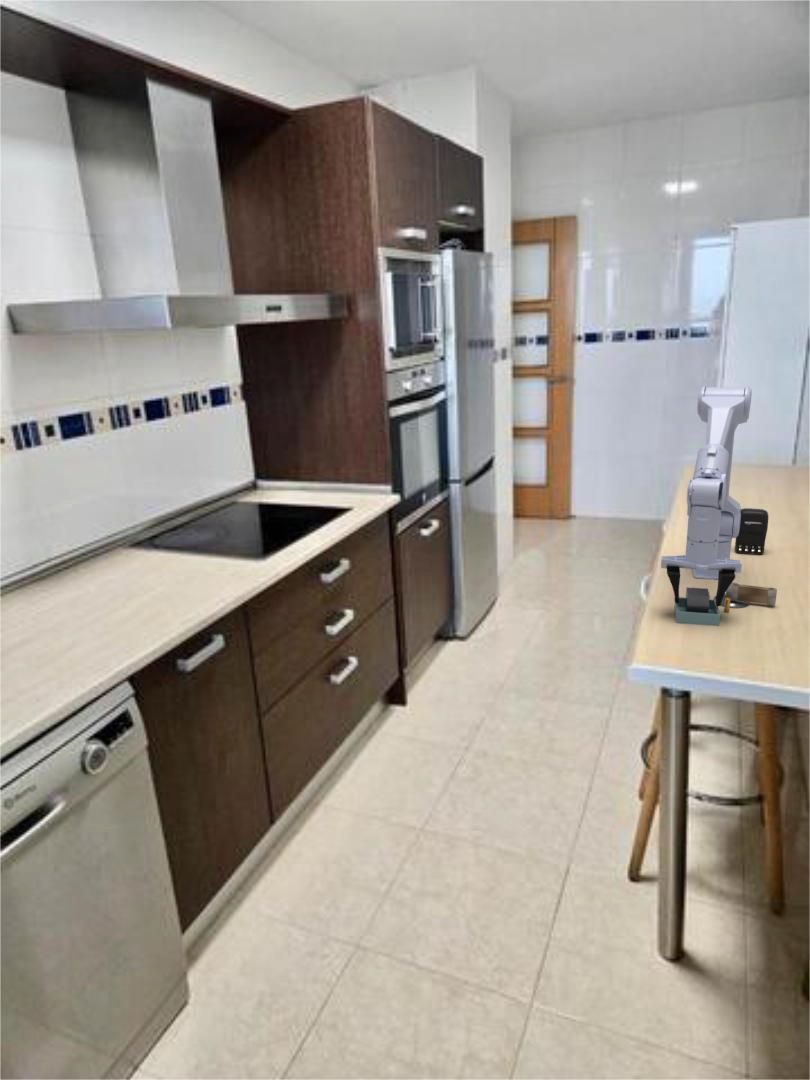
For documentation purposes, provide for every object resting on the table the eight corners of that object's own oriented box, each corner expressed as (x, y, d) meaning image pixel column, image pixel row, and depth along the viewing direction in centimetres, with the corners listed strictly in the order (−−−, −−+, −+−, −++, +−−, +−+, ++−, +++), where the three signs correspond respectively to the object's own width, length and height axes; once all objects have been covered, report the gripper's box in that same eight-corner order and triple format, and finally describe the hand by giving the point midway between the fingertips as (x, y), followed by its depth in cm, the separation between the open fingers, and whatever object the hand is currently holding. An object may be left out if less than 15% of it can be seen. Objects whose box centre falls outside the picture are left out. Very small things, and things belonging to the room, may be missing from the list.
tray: (674, 607, 145) (675, 596, 144) (715, 610, 143) (716, 599, 142) (676, 622, 138) (676, 611, 137) (718, 626, 136) (720, 615, 135)
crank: (725, 600, 146) (726, 585, 145) (726, 595, 148) (727, 581, 147) (775, 606, 141) (777, 591, 140) (775, 602, 143) (777, 587, 142)
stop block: (684, 610, 143) (686, 587, 141) (705, 611, 142) (707, 588, 140) (685, 617, 139) (687, 594, 138) (707, 619, 138) (709, 596, 136)
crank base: (711, 594, 150) (713, 581, 150) (747, 597, 148) (748, 584, 147) (716, 612, 142) (717, 598, 141) (754, 615, 140) (755, 601, 139)
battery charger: (733, 554, 173) (738, 510, 170) (733, 550, 177) (737, 506, 173) (765, 557, 171) (770, 512, 167) (764, 552, 174) (769, 508, 170)
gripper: (663, 542, 134) (659, 607, 138) (746, 546, 130) (739, 613, 134) (662, 532, 140) (658, 594, 144) (741, 535, 136) (734, 599, 140)
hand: (697, 602), depth 140 cm, fingers open, 7 cm apart
